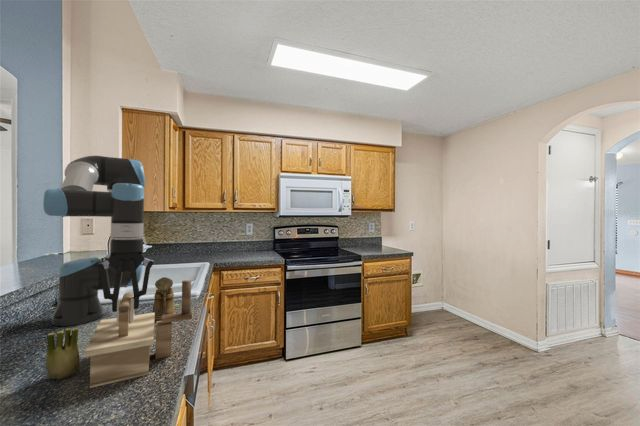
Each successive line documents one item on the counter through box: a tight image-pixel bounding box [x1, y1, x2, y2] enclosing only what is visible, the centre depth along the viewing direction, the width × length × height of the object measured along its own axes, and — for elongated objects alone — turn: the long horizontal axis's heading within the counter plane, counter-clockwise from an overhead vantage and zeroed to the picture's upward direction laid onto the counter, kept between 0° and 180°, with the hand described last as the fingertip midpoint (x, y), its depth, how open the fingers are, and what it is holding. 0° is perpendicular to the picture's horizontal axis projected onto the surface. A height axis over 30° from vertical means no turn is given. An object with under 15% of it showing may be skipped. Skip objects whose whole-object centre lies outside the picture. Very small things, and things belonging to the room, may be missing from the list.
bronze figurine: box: [151, 276, 176, 322], centre depth 111 cm, size 9×14×18 cm, turn 28°
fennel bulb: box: [45, 327, 81, 380], centre depth 71 cm, size 6×5×12 cm
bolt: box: [162, 279, 193, 324], centre depth 85 cm, size 3×8×12 cm, turn 120°
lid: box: [83, 292, 155, 358], centre depth 78 cm, size 22×14×11 cm, turn 30°
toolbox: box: [89, 321, 173, 389], centre depth 80 cm, size 20×18×10 cm
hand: (125, 321), depth 78 cm, fingers closed on lid, 2 cm apart
